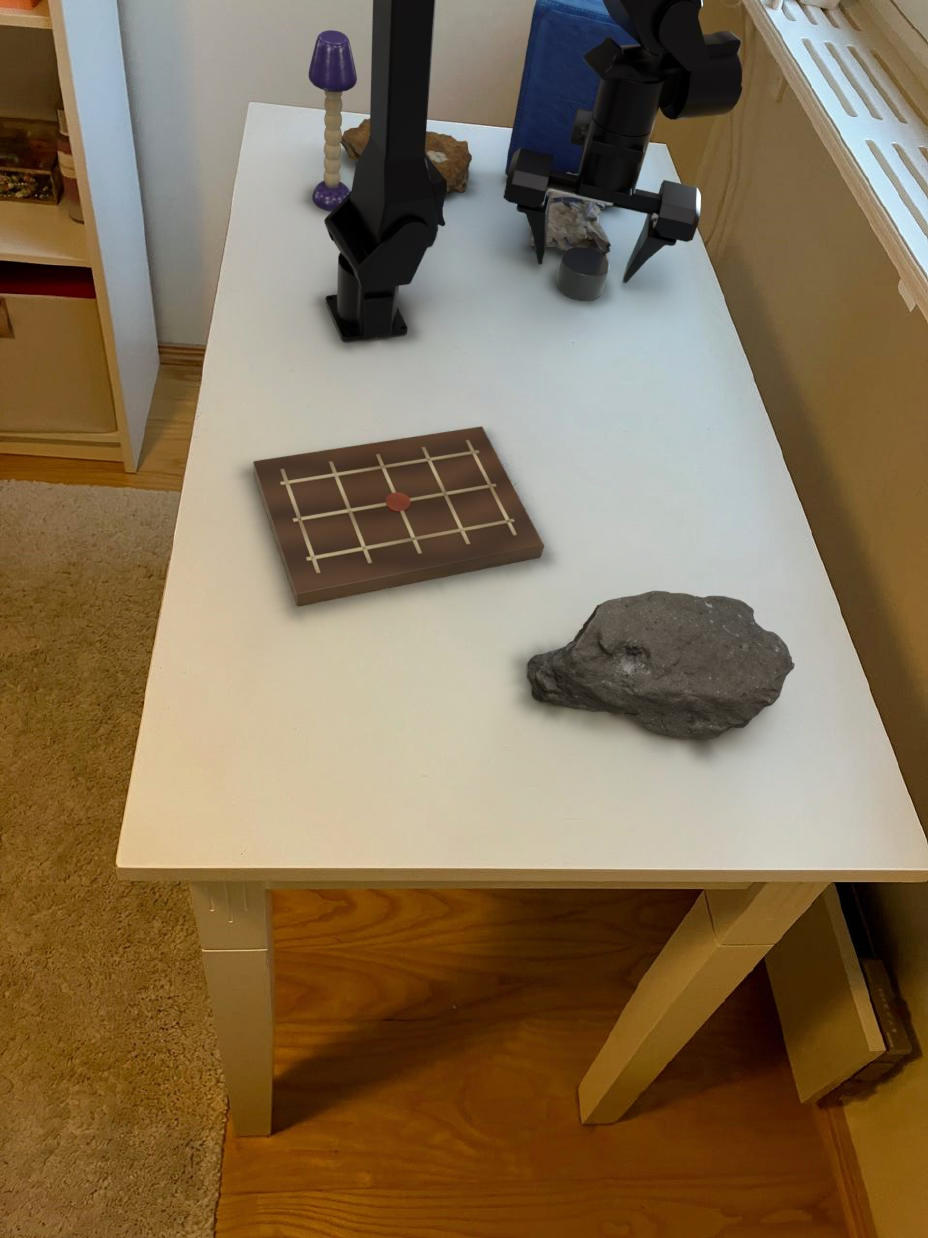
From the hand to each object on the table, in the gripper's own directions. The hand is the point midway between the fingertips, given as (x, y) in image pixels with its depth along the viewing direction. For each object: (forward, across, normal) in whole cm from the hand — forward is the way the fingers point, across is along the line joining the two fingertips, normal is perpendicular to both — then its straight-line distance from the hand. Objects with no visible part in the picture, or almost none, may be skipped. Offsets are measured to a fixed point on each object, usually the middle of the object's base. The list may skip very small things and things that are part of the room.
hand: (582, 271), depth 100 cm
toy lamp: (+2, +28, -5) cm, 28 cm away
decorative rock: (+2, +22, -14) cm, 26 cm away
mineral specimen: (+2, +2, -8) cm, 9 cm away
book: (+1, +4, -17) cm, 18 cm away
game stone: (+1, 0, +1) cm, 2 cm away
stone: (+2, -10, +50) cm, 51 cm away
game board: (+1, +12, +38) cm, 40 cm away
